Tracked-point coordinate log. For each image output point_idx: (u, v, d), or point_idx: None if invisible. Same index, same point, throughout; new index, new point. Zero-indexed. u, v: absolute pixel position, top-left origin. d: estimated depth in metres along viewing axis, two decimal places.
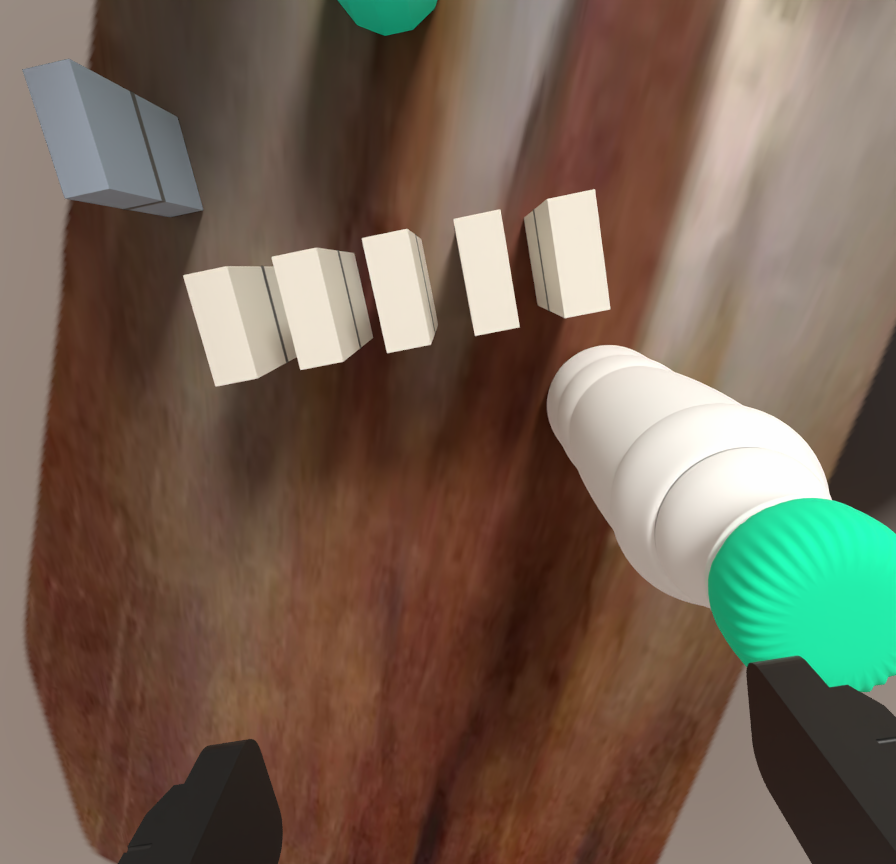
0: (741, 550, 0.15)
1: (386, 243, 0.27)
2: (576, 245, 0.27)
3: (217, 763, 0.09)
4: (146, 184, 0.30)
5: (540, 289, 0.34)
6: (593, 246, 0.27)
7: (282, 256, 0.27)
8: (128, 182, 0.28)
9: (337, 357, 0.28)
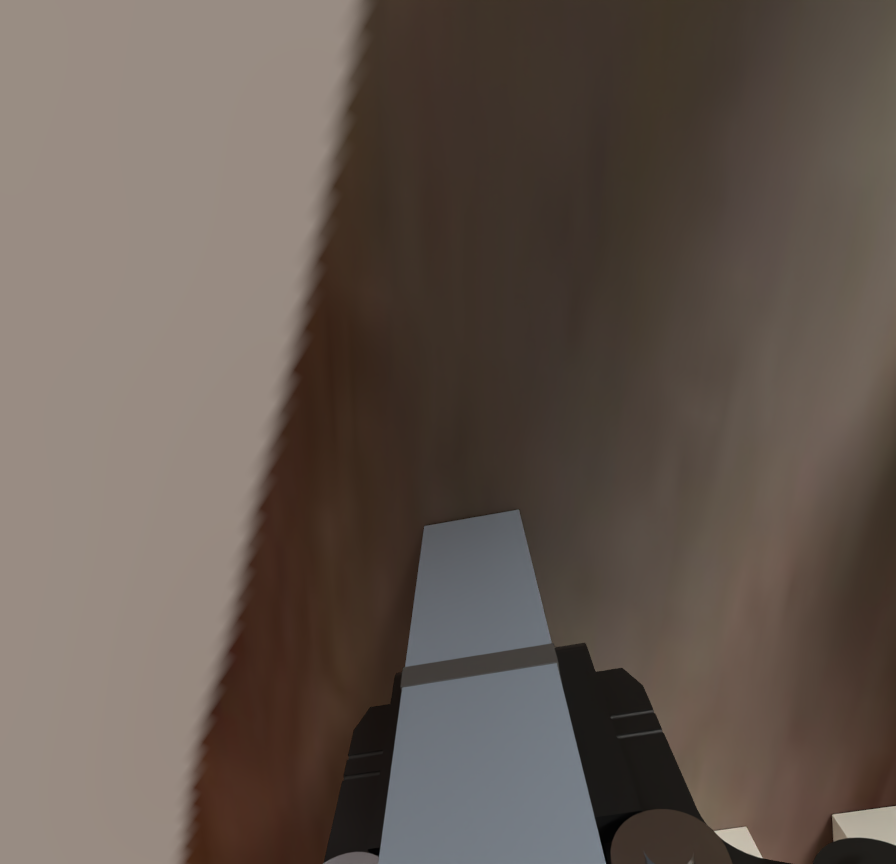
0: None
1: None
2: None
3: None
4: None
5: None
6: None
7: None
8: None
9: None
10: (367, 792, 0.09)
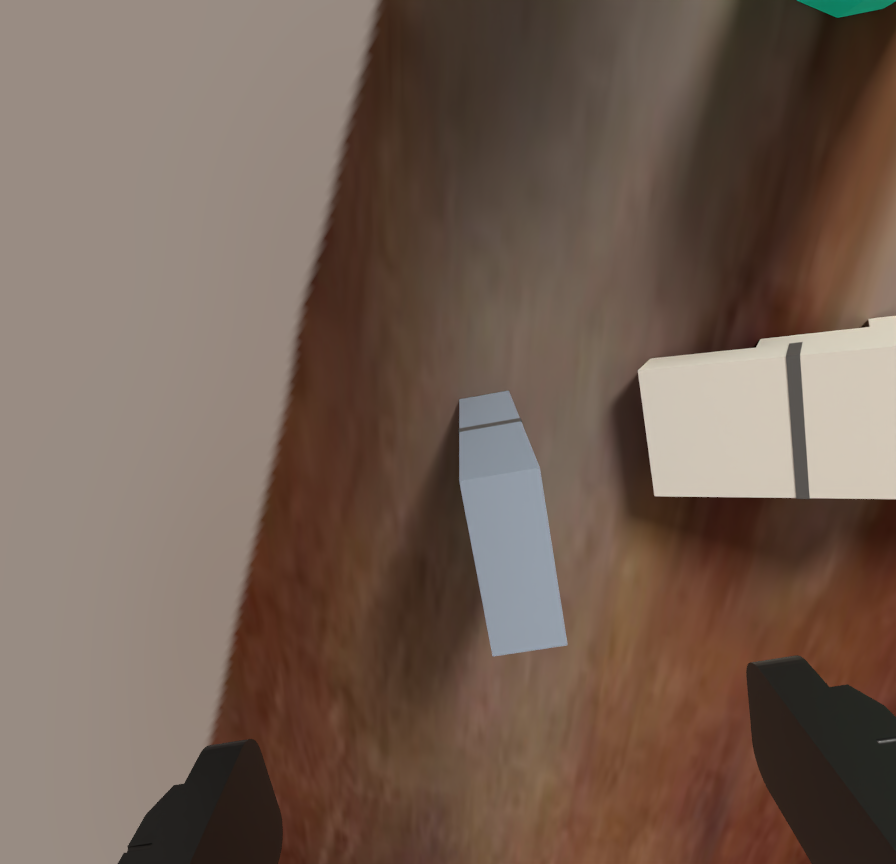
0: None
1: None
2: None
3: (217, 763, 0.09)
4: None
5: None
6: None
7: None
8: None
9: None
10: None
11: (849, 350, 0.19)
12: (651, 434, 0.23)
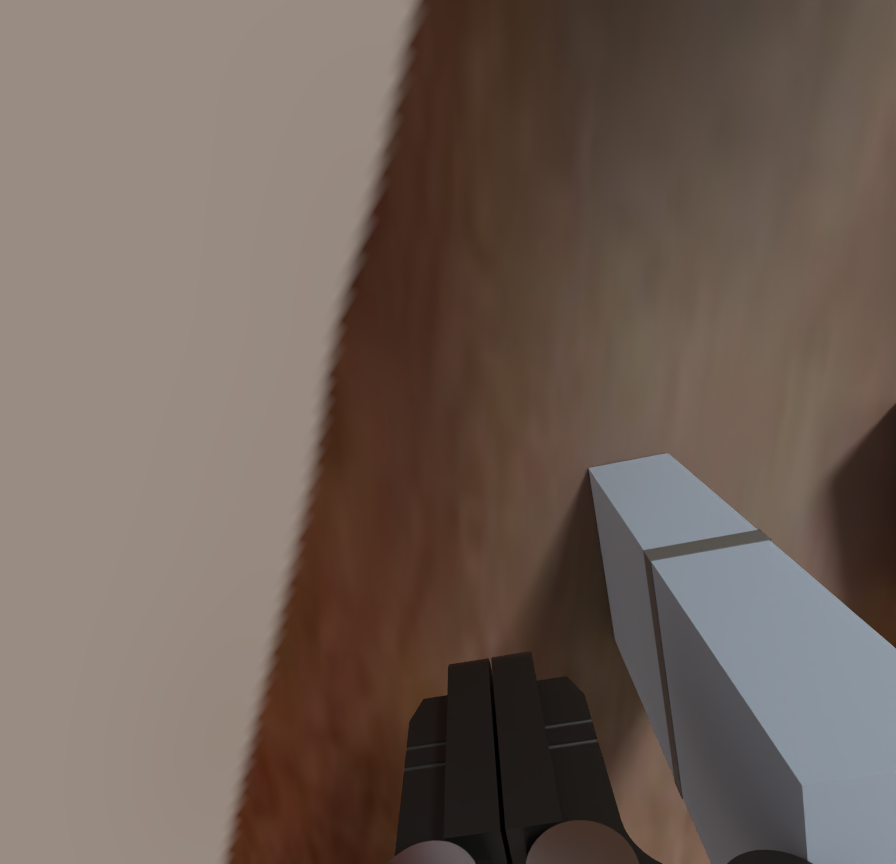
0: None
1: None
2: None
3: (471, 676, 0.10)
4: None
5: None
6: None
7: None
8: None
9: None
10: (431, 783, 0.09)
11: None
12: None
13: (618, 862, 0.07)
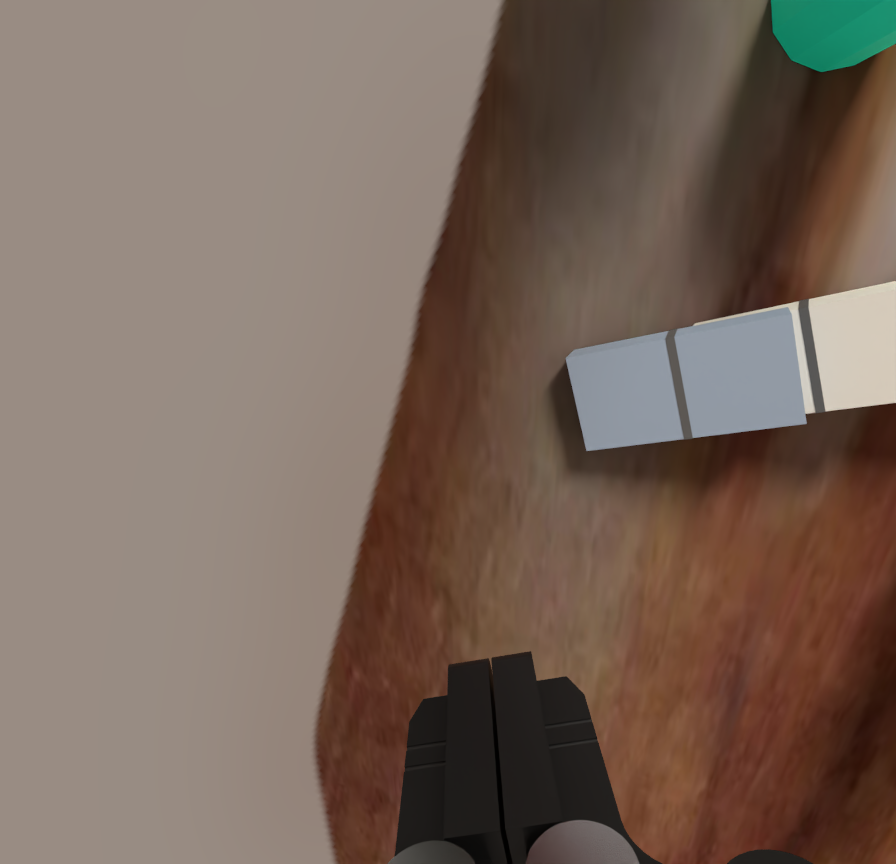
0: None
1: None
2: None
3: (471, 675, 0.10)
4: None
5: None
6: None
7: None
8: None
9: None
10: (431, 783, 0.09)
11: (843, 299, 0.27)
12: None
13: (618, 862, 0.07)
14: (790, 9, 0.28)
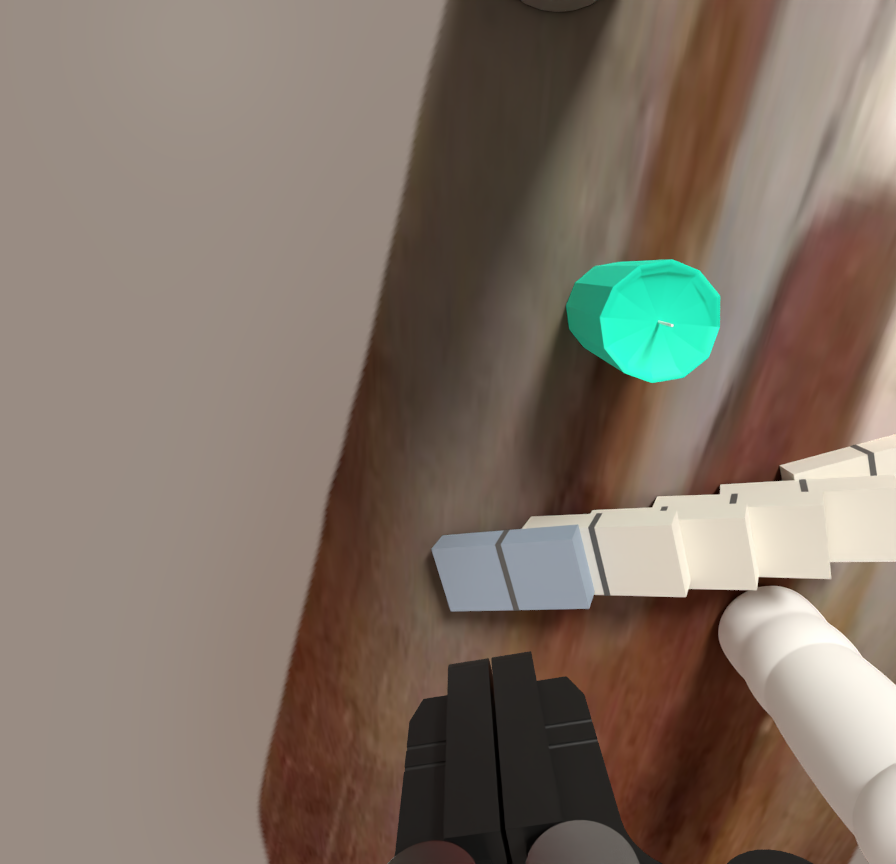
0: None
1: None
2: None
3: (471, 676, 0.10)
4: None
5: None
6: None
7: (745, 515, 0.38)
8: None
9: (758, 572, 0.40)
10: (431, 783, 0.09)
11: (615, 526, 0.39)
12: None
13: (618, 862, 0.07)
14: (572, 325, 0.40)
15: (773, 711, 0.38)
